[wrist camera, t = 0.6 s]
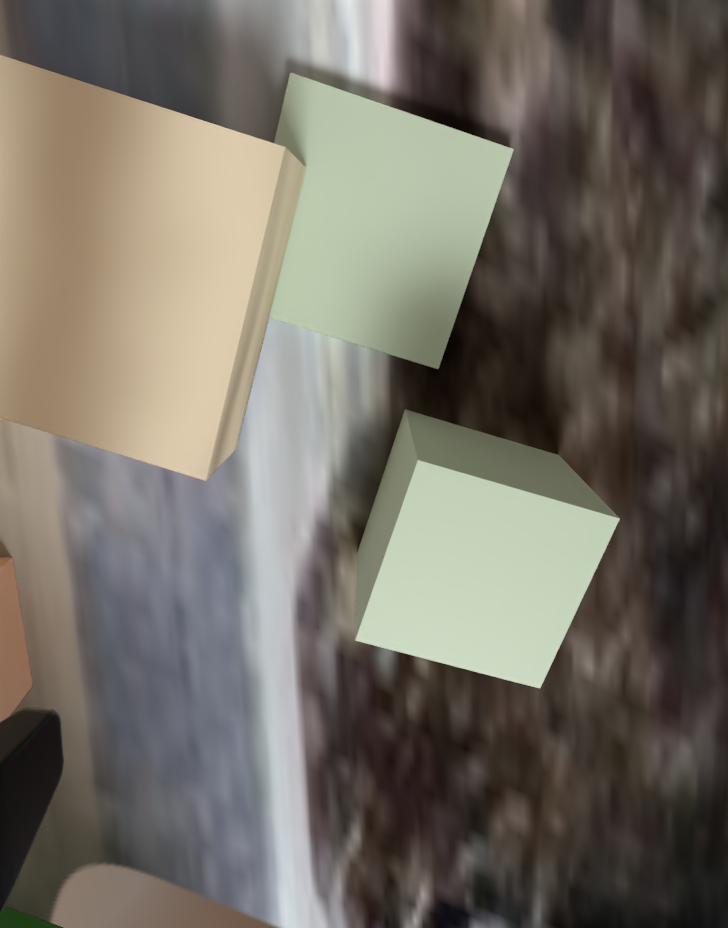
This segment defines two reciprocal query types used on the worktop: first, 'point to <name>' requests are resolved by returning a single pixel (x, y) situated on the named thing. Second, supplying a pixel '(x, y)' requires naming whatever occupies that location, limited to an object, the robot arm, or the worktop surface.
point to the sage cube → (476, 551)
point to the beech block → (134, 268)
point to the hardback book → (22, 920)
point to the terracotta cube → (11, 643)
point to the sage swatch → (381, 221)
